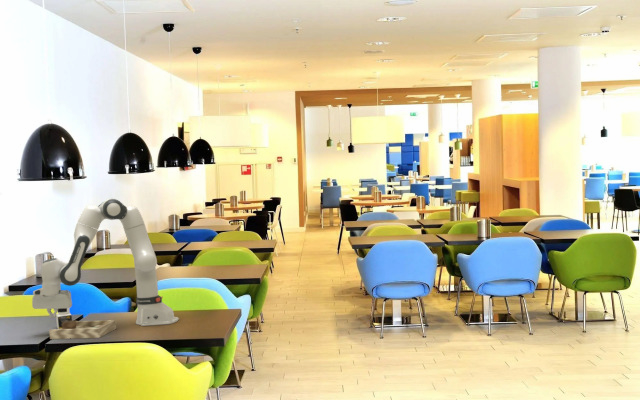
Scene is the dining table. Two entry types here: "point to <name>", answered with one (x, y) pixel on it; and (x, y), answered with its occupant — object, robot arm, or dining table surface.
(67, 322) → the walnut block
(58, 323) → the medicine bottle
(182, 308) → the dining table surface
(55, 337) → the woven tray
